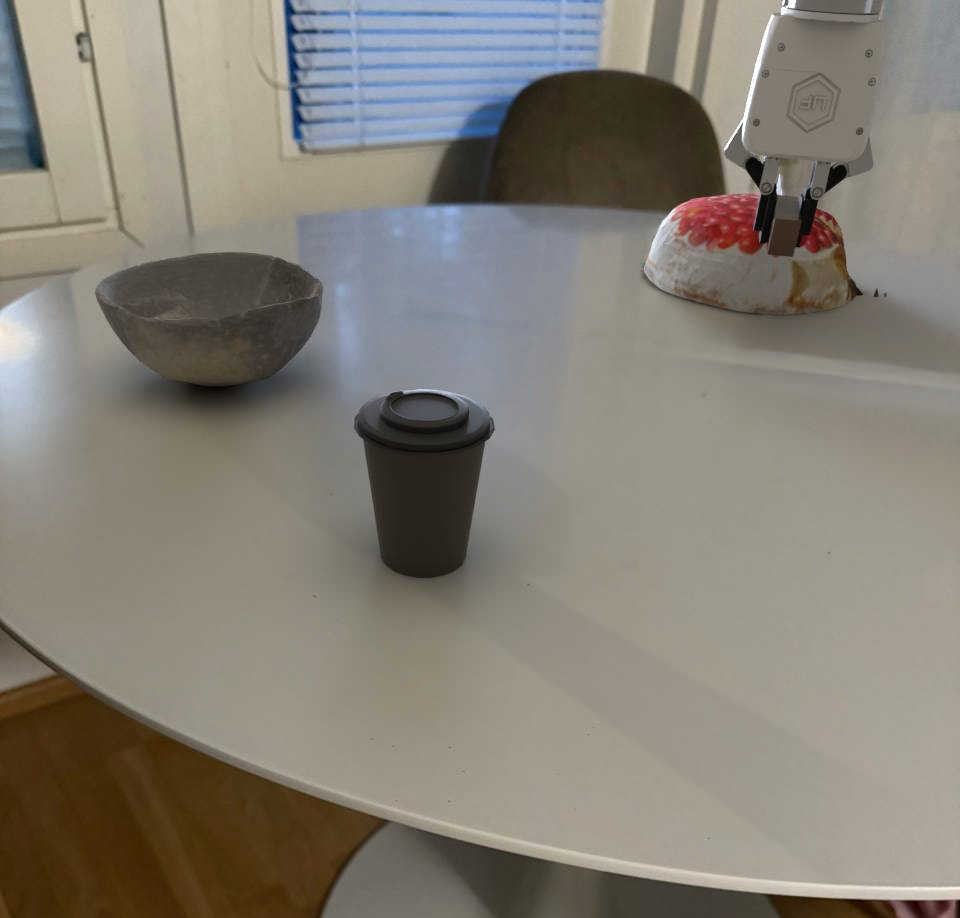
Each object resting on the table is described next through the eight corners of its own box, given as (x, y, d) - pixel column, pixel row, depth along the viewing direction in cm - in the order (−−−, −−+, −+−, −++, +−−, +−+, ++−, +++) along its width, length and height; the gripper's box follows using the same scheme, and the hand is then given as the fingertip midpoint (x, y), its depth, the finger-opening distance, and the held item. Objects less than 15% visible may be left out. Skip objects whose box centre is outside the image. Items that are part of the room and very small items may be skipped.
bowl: (206, 322, 91) (195, 233, 86) (365, 359, 85) (363, 267, 80) (64, 385, 78) (41, 285, 73) (240, 435, 72) (228, 330, 67)
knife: (793, 257, 83) (801, 220, 81) (767, 254, 83) (775, 218, 81) (786, 202, 97) (793, 170, 95) (763, 200, 97) (770, 168, 95)
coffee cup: (371, 516, 63) (367, 371, 57) (492, 526, 63) (501, 381, 57) (346, 583, 57) (338, 428, 51) (481, 595, 57) (489, 440, 51)
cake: (907, 327, 98) (940, 225, 92) (682, 331, 95) (700, 225, 89) (810, 261, 116) (832, 172, 110) (617, 262, 113) (629, 169, 106)
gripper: (730, -8, 73) (687, 243, 84) (948, 6, 71) (875, 262, 82) (730, -13, 79) (691, 222, 90) (932, 0, 77) (866, 240, 88)
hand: (779, 239), depth 86 cm, fingers closed on knife, 2 cm apart
